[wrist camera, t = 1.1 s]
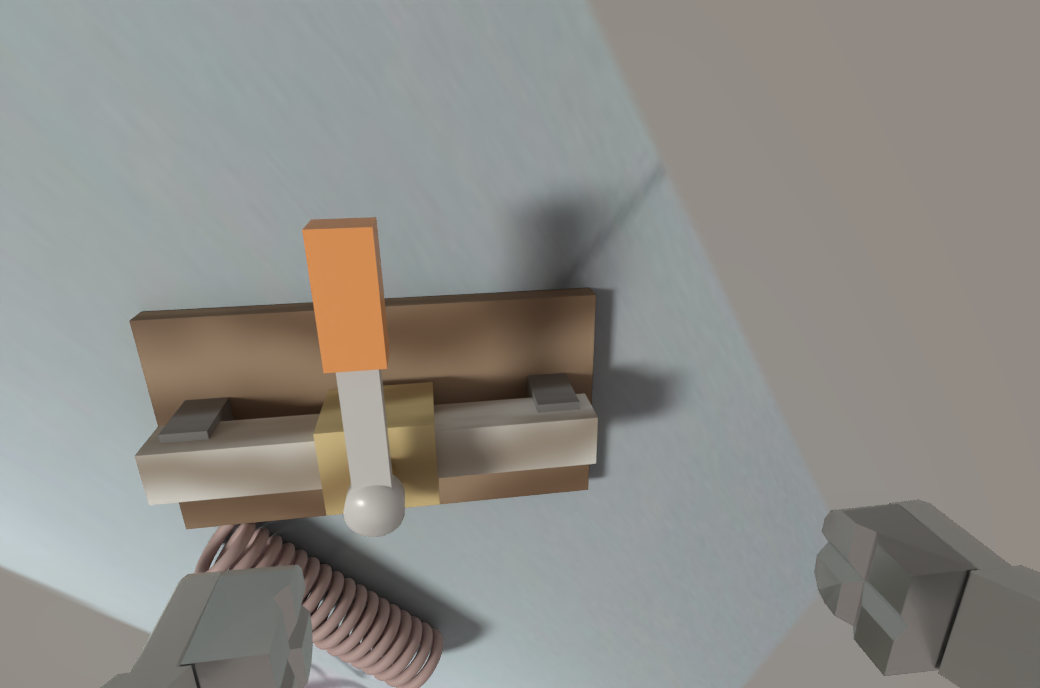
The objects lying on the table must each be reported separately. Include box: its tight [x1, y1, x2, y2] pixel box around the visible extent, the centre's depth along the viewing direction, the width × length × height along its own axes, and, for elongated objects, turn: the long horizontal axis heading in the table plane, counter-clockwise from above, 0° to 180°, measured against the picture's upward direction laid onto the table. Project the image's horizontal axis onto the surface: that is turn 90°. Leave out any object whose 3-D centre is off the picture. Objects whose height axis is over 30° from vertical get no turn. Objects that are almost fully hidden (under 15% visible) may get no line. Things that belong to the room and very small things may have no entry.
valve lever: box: [302, 217, 405, 537], centre depth 27 cm, size 15×3×2 cm, turn 1°
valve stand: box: [130, 288, 598, 529], centre depth 34 cm, size 14×26×9 cm, turn 91°
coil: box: [194, 523, 443, 688], centre depth 41 cm, size 5×5×18 cm
